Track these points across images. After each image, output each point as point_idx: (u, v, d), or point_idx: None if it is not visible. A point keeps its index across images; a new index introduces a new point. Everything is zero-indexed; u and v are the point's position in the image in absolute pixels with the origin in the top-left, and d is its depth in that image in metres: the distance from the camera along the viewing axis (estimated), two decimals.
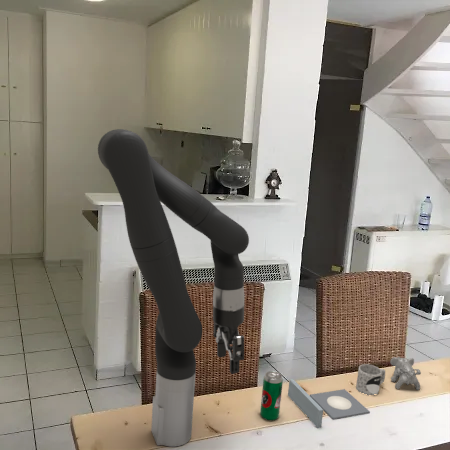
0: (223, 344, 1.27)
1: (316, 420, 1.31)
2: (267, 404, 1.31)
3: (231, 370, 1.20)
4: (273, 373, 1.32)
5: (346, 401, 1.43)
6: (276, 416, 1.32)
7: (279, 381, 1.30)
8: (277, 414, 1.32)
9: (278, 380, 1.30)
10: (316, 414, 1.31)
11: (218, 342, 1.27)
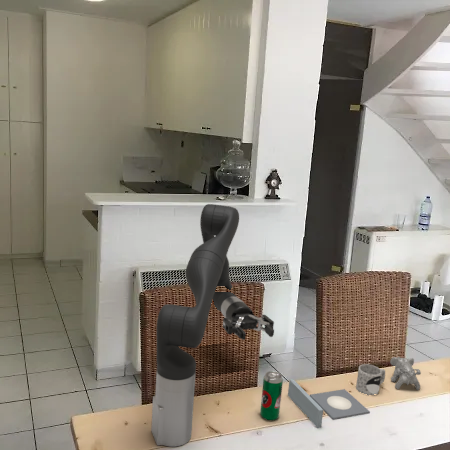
0: None
1: (316, 420, 1.31)
2: (267, 404, 1.31)
3: (271, 329, 1.42)
4: (273, 373, 1.32)
5: (346, 401, 1.43)
6: (276, 416, 1.32)
7: (279, 381, 1.30)
8: (277, 414, 1.32)
9: (278, 380, 1.30)
10: (316, 414, 1.31)
11: (239, 327, 1.42)
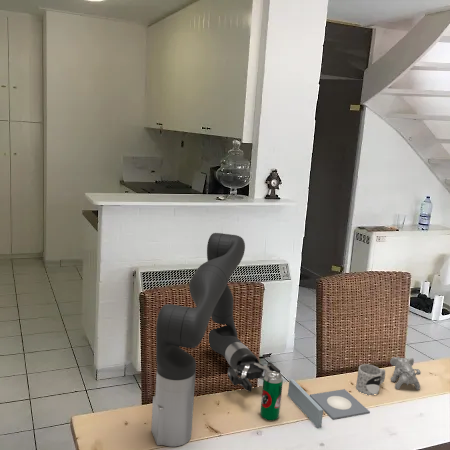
0: None
1: (316, 420, 1.31)
2: (267, 404, 1.31)
3: None
4: (273, 373, 1.32)
5: (346, 401, 1.43)
6: (276, 416, 1.32)
7: (279, 381, 1.30)
8: (277, 414, 1.32)
9: (278, 380, 1.30)
10: (316, 414, 1.31)
11: (245, 377, 1.38)
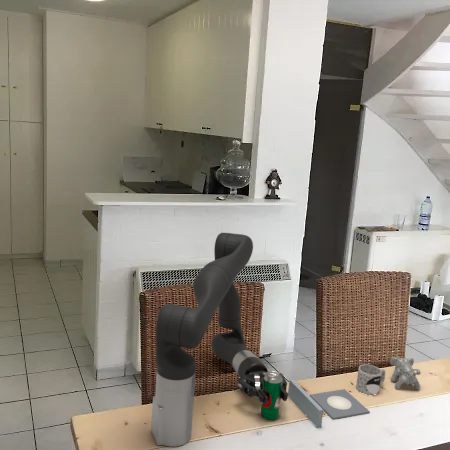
0: None
1: (316, 420, 1.31)
2: (267, 404, 1.31)
3: (285, 392, 1.32)
4: (273, 373, 1.32)
5: (346, 401, 1.43)
6: (276, 416, 1.32)
7: (279, 381, 1.30)
8: (277, 414, 1.32)
9: (278, 380, 1.30)
10: (316, 414, 1.31)
11: (260, 389, 1.33)
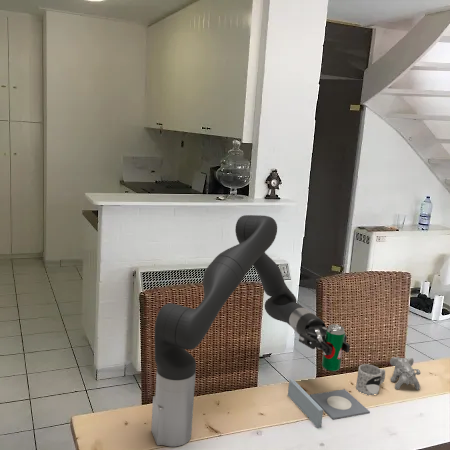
0: None
1: (316, 420, 1.31)
2: (330, 355, 1.36)
3: None
4: (335, 326, 1.37)
5: (346, 401, 1.43)
6: (338, 367, 1.37)
7: (342, 333, 1.35)
8: (339, 365, 1.37)
9: (341, 332, 1.35)
10: (316, 414, 1.31)
11: (322, 341, 1.38)
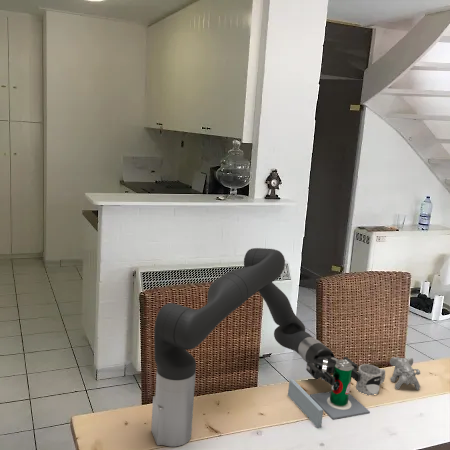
0: None
1: (316, 420, 1.31)
2: (338, 390, 1.39)
3: None
4: (343, 361, 1.40)
5: None
6: (346, 402, 1.40)
7: (350, 369, 1.38)
8: (347, 400, 1.40)
9: (349, 368, 1.38)
10: (316, 414, 1.31)
11: (326, 371, 1.41)
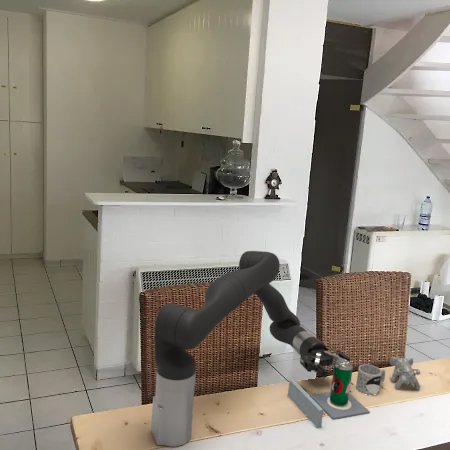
0: None
1: (316, 420, 1.31)
2: (338, 390, 1.39)
3: None
4: (343, 361, 1.41)
5: None
6: (346, 402, 1.40)
7: (350, 368, 1.38)
8: (347, 399, 1.40)
9: (349, 367, 1.38)
10: (316, 414, 1.31)
11: (318, 364, 1.44)
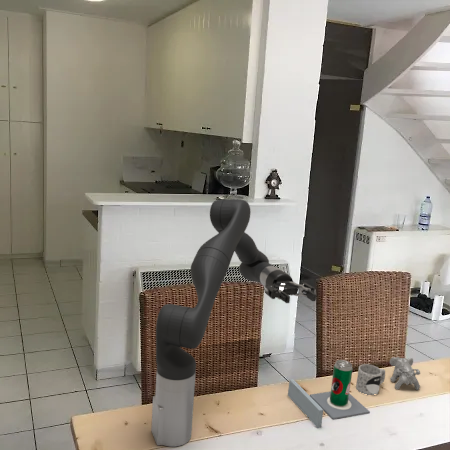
0: None
1: (316, 420, 1.31)
2: (338, 391, 1.39)
3: None
4: (343, 361, 1.40)
5: None
6: (346, 402, 1.40)
7: (350, 369, 1.38)
8: (347, 400, 1.40)
9: (349, 368, 1.38)
10: (316, 414, 1.31)
11: (282, 291, 1.45)
